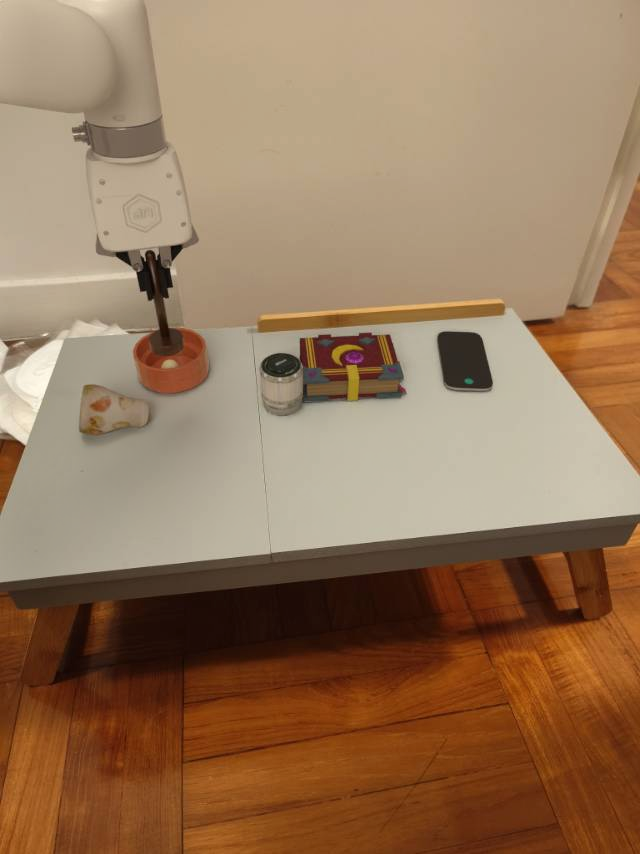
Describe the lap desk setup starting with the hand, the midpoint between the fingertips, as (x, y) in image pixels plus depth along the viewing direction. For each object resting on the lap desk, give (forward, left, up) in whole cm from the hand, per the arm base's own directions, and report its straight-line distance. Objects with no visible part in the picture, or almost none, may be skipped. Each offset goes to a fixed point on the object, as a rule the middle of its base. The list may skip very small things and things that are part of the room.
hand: (157, 293), depth 75 cm
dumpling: (0, +11, -20) cm, 22 cm away
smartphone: (+46, +2, -22) cm, 51 cm away
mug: (-9, +2, -22) cm, 24 cm away
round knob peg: (0, 0, -8) cm, 8 cm away
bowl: (0, +12, -22) cm, 25 cm away
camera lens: (+15, 0, -22) cm, 27 cm away
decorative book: (+27, +3, -22) cm, 35 cm away
